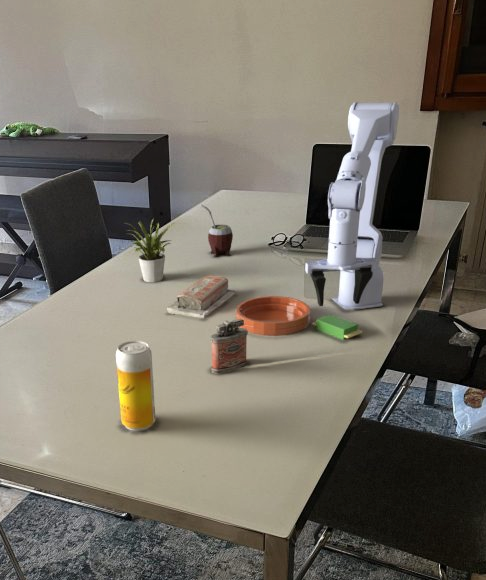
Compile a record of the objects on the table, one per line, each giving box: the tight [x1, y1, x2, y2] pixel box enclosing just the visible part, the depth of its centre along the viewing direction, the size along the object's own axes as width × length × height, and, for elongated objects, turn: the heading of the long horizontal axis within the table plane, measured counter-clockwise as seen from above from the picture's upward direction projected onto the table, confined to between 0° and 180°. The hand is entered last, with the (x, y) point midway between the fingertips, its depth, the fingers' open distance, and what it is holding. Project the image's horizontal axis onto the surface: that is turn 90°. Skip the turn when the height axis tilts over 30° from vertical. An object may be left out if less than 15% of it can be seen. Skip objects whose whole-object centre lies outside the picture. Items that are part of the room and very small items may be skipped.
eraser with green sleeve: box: [311, 313, 363, 341], centre depth 160 cm, size 4×10×3 cm, turn 35°
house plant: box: [125, 219, 175, 283], centre depth 195 cm, size 14×14×16 cm
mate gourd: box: [200, 204, 234, 258], centre depth 210 cm, size 8×8×15 cm
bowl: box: [235, 295, 311, 336], centre depth 167 cm, size 16×16×4 cm
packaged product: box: [166, 274, 237, 319], centre depth 179 cm, size 18×5×10 cm
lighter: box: [210, 318, 249, 375], centre depth 147 cm, size 8×3×10 cm, turn 117°
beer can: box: [115, 340, 156, 432], centre depth 128 cm, size 6×6×15 cm
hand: (338, 303), depth 157 cm, fingers open, 7 cm apart
